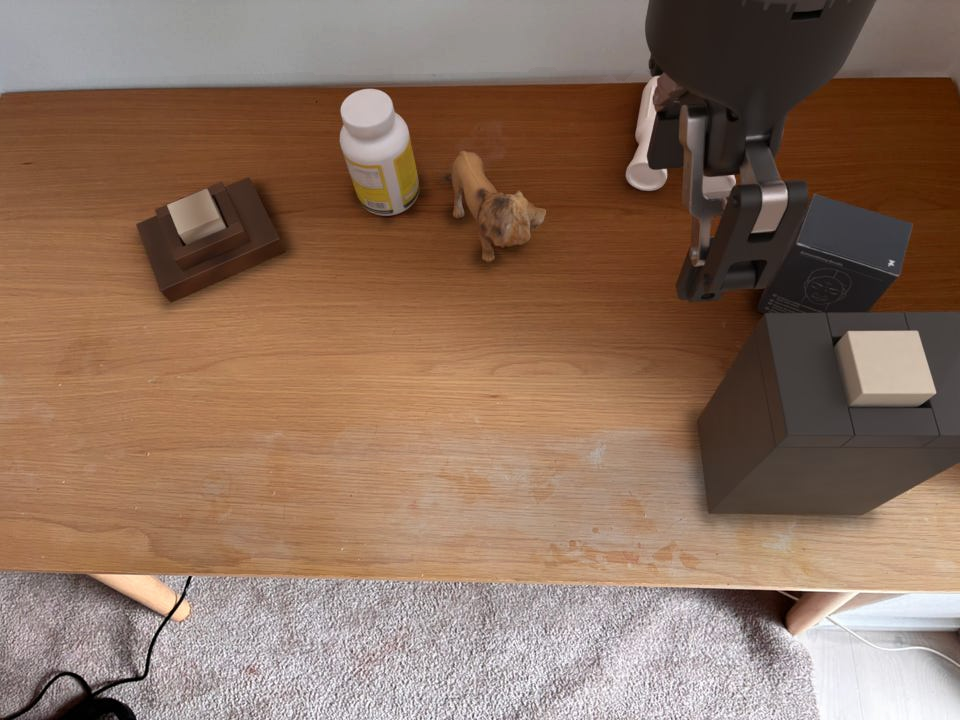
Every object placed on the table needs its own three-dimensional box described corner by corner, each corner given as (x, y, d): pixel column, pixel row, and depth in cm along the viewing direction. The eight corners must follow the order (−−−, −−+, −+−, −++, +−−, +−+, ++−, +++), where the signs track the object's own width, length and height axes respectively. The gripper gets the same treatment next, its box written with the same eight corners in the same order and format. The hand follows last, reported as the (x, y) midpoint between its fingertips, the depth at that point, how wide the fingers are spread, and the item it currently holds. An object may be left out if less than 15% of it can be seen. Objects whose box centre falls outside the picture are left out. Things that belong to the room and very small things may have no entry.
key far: (186, 245, 65) (178, 234, 63) (174, 216, 66) (166, 204, 65) (226, 228, 65) (219, 217, 64) (214, 200, 67) (206, 188, 66)
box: (856, 294, 63) (916, 222, 53) (841, 344, 61) (901, 278, 51) (771, 265, 65) (814, 190, 55) (753, 312, 63) (795, 242, 53)
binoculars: (622, 190, 70) (628, 158, 65) (642, 79, 76) (649, 43, 72) (728, 206, 68) (741, 173, 64) (738, 91, 75) (751, 55, 71)
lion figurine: (550, 261, 66) (554, 200, 58) (505, 289, 65) (503, 231, 57) (464, 168, 72) (458, 101, 64) (422, 192, 71) (410, 127, 63)
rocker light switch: (170, 303, 66) (150, 280, 63) (146, 237, 70) (126, 212, 66) (286, 252, 68) (273, 227, 65) (256, 190, 72) (242, 164, 68)
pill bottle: (419, 167, 72) (403, 77, 62) (421, 216, 69) (404, 130, 59) (358, 172, 72) (331, 84, 62) (357, 221, 70) (329, 137, 59)
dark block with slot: (708, 513, 55) (787, 435, 39) (696, 420, 58) (764, 312, 42) (863, 515, 54) (1009, 436, 38) (841, 420, 58) (967, 311, 41)
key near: (846, 408, 40) (862, 393, 38) (832, 347, 42) (847, 330, 40) (917, 407, 40) (937, 393, 38) (900, 346, 42) (918, 330, 40)
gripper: (631, -190, 25) (592, 133, 40) (714, 86, 19) (631, 350, 34) (835, -211, 25) (721, 121, 40) (987, 61, 19) (785, 337, 33)
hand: (680, 226), depth 37 cm, fingers open, 8 cm apart
